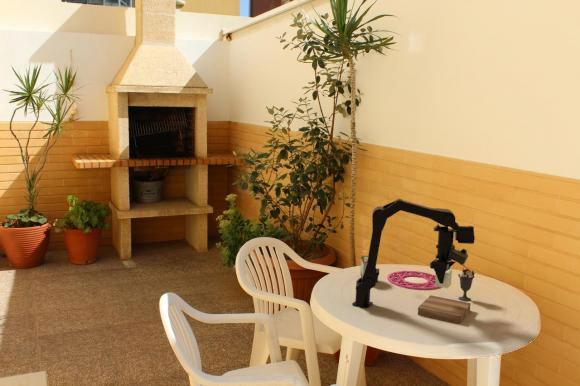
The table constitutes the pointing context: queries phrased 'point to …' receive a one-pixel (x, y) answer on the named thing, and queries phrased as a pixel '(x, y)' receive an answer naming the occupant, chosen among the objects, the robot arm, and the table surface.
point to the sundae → (466, 282)
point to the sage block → (446, 280)
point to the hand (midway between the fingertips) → (443, 281)
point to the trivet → (414, 285)
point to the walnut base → (444, 309)
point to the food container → (363, 263)
